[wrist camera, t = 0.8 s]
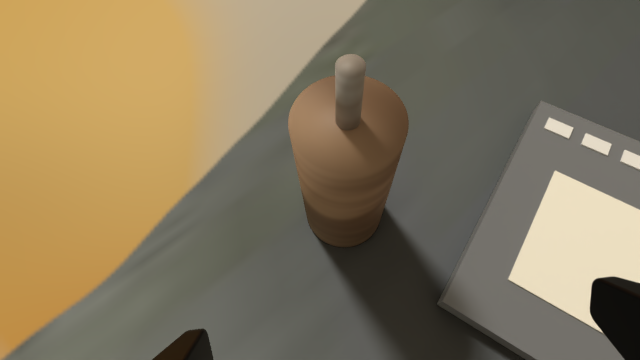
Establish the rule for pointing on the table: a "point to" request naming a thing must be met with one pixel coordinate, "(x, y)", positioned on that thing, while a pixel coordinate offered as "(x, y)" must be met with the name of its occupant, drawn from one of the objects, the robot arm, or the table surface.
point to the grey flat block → (552, 239)
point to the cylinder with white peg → (347, 151)
